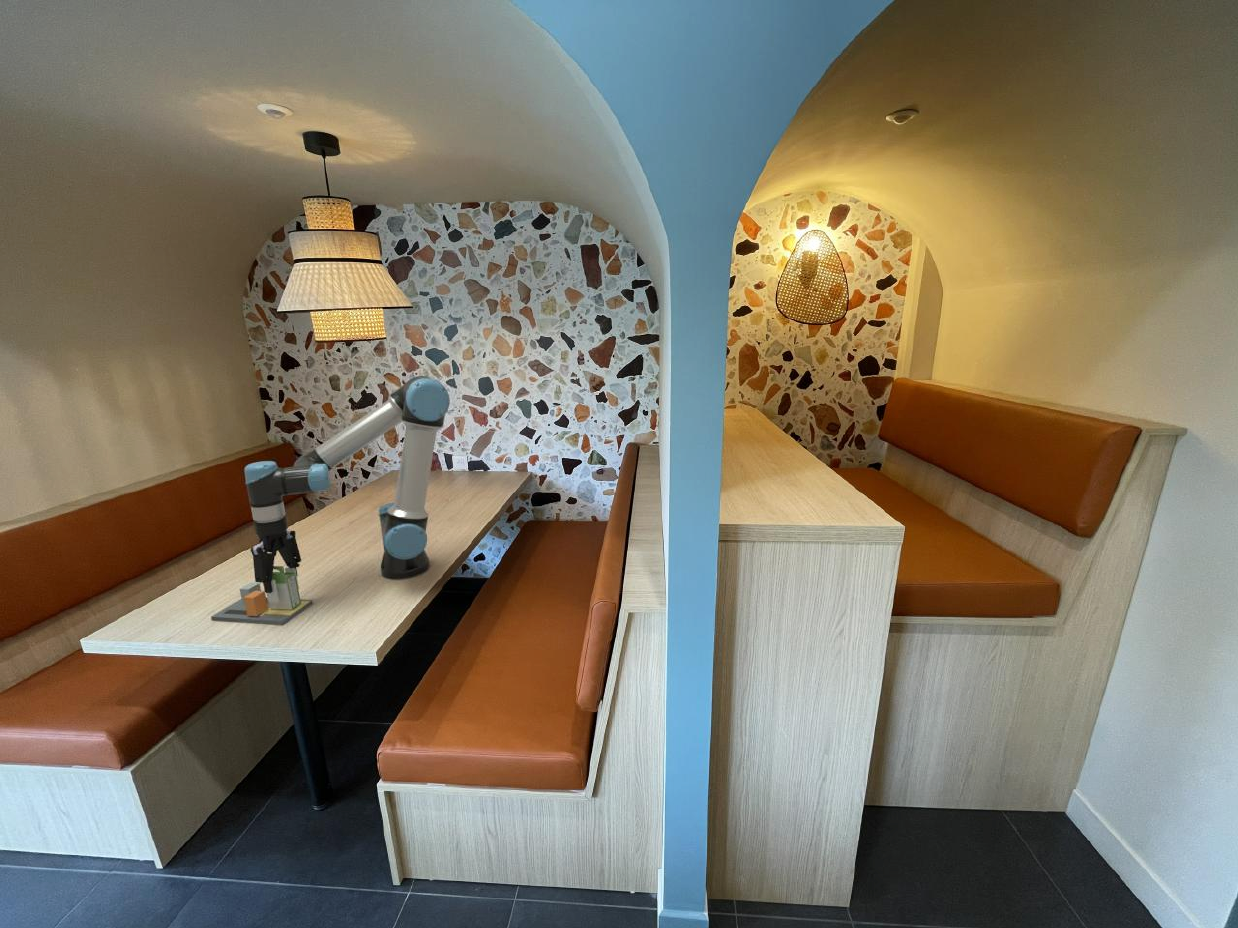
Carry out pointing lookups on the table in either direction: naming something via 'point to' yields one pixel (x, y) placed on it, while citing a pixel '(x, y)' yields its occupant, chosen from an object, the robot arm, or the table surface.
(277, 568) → the ink box
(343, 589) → the table surface
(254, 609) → the lever
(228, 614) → the panel
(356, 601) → the table surface
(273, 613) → the pad
